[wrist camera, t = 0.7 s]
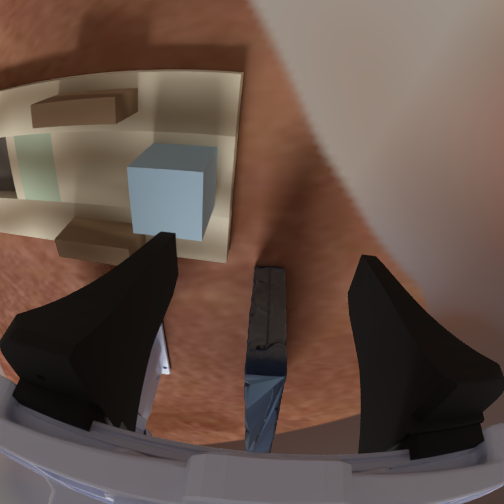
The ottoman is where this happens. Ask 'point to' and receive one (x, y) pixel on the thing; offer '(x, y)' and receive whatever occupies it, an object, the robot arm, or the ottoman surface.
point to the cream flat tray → (110, 155)
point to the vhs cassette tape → (265, 358)
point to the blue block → (173, 190)
